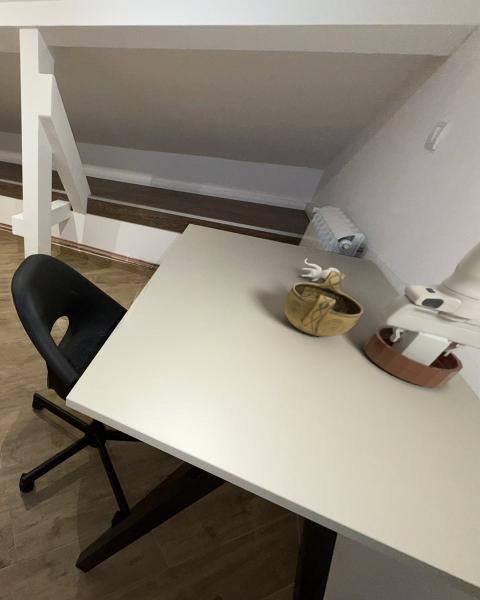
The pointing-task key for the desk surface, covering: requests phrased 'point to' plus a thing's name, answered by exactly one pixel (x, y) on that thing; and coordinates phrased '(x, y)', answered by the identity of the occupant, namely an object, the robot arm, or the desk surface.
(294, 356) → the desk surface
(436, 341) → the small box
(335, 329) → the ceramic bowl
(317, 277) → the figurine
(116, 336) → the desk surface
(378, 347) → the terracotta bowl
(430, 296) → the robot arm
